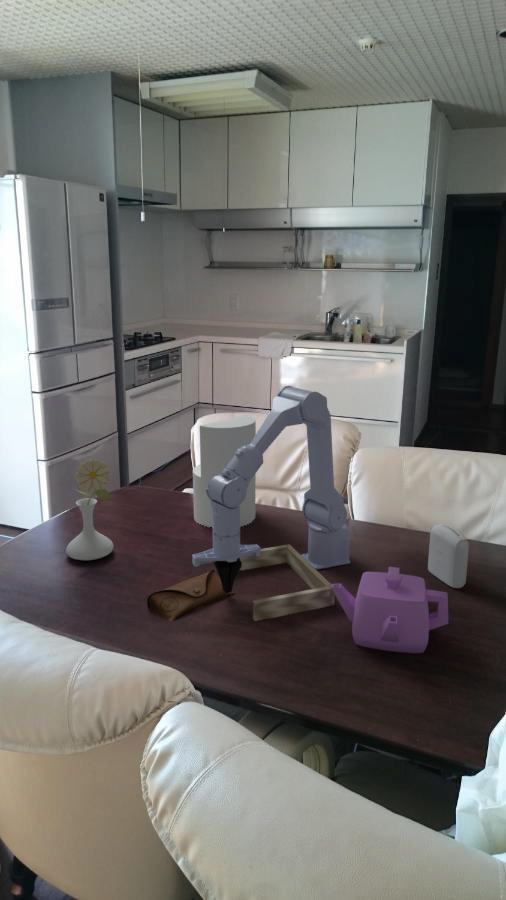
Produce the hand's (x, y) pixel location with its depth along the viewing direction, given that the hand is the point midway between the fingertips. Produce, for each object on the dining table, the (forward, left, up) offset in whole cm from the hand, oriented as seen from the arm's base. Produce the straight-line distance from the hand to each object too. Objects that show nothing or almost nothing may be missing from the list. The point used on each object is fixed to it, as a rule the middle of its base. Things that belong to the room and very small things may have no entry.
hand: (227, 590), depth 138 cm
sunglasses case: (+7, -1, -2) cm, 8 cm away
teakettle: (-24, +25, -2) cm, 35 cm away
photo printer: (-49, +10, -2) cm, 50 cm away
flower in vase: (+24, -31, -2) cm, 39 cm away
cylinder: (-14, -43, -2) cm, 45 cm away
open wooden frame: (-11, 0, -1) cm, 11 cm away
